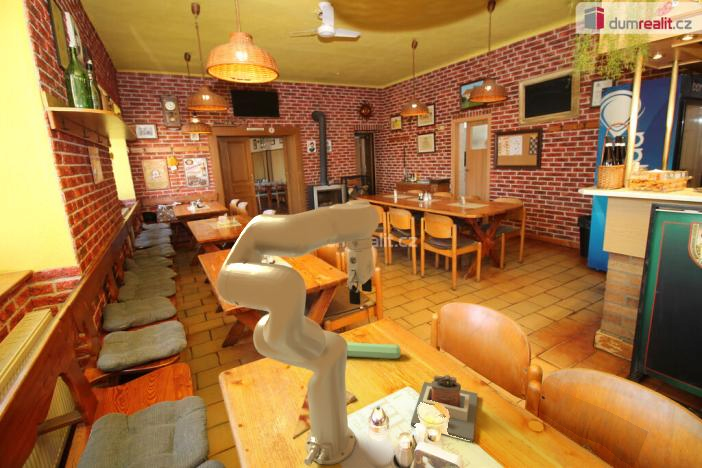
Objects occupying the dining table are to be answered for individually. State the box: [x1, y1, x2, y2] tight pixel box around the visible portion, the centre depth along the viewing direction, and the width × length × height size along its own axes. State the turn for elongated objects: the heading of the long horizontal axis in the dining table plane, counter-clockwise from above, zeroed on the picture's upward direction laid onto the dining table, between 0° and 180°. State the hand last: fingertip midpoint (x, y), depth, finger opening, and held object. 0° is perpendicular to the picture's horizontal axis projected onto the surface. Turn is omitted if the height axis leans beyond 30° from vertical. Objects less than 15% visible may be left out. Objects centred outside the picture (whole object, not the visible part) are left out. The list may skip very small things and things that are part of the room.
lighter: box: [430, 374, 462, 408], centre depth 97 cm, size 8×3×10 cm, turn 80°
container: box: [346, 341, 402, 360], centre depth 126 cm, size 6×6×25 cm
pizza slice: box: [292, 390, 357, 439], centre depth 104 cm, size 16×22×2 cm
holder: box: [410, 381, 478, 442], centre depth 98 cm, size 18×16×4 cm
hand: (361, 297), depth 104 cm, fingers open, 9 cm apart
